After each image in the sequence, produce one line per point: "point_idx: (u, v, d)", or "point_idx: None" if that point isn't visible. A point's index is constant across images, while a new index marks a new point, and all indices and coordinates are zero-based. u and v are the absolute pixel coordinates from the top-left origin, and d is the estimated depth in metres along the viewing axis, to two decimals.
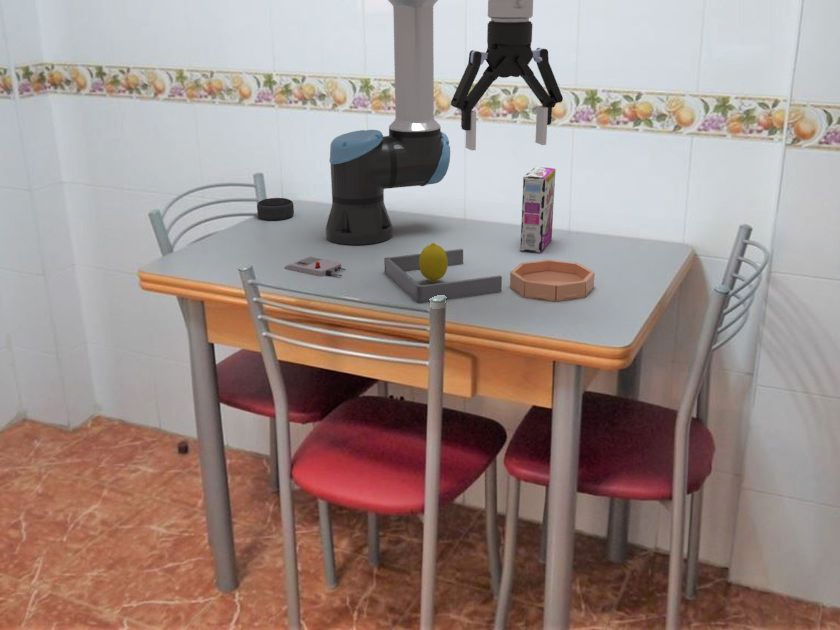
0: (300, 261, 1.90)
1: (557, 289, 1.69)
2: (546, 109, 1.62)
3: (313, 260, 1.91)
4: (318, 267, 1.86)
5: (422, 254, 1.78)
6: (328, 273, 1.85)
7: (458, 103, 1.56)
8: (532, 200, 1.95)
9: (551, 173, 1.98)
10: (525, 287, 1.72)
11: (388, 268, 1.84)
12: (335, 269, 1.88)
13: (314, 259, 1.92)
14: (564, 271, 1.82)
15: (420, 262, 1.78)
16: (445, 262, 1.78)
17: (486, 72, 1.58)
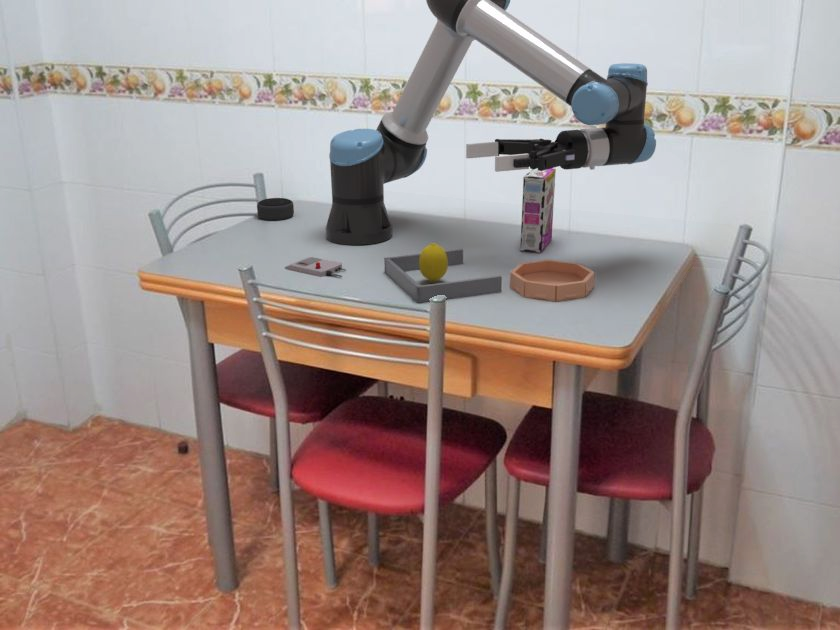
0: (301, 261, 1.90)
1: (557, 289, 1.69)
2: (495, 155, 1.84)
3: (314, 260, 1.91)
4: (318, 267, 1.86)
5: (422, 254, 1.78)
6: (328, 273, 1.85)
7: (542, 170, 1.70)
8: (532, 200, 1.95)
9: (551, 173, 1.98)
10: (525, 287, 1.72)
11: (388, 268, 1.84)
12: (335, 269, 1.87)
13: (314, 259, 1.92)
14: (564, 271, 1.82)
15: (420, 262, 1.78)
16: (445, 262, 1.78)
17: (550, 152, 1.76)
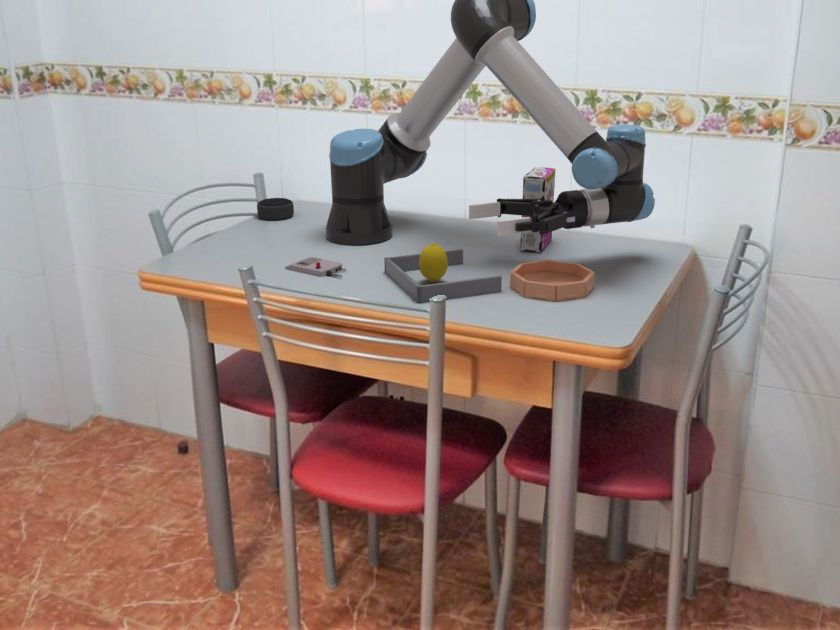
0: (301, 261, 1.90)
1: (557, 289, 1.69)
2: None
3: (314, 260, 1.91)
4: (318, 267, 1.86)
5: (422, 254, 1.78)
6: (328, 273, 1.85)
7: (544, 233, 1.74)
8: None
9: (551, 173, 1.98)
10: (525, 287, 1.72)
11: (388, 268, 1.84)
12: (336, 269, 1.87)
13: (315, 259, 1.92)
14: (564, 271, 1.82)
15: (420, 262, 1.78)
16: (445, 262, 1.78)
17: (551, 214, 1.80)
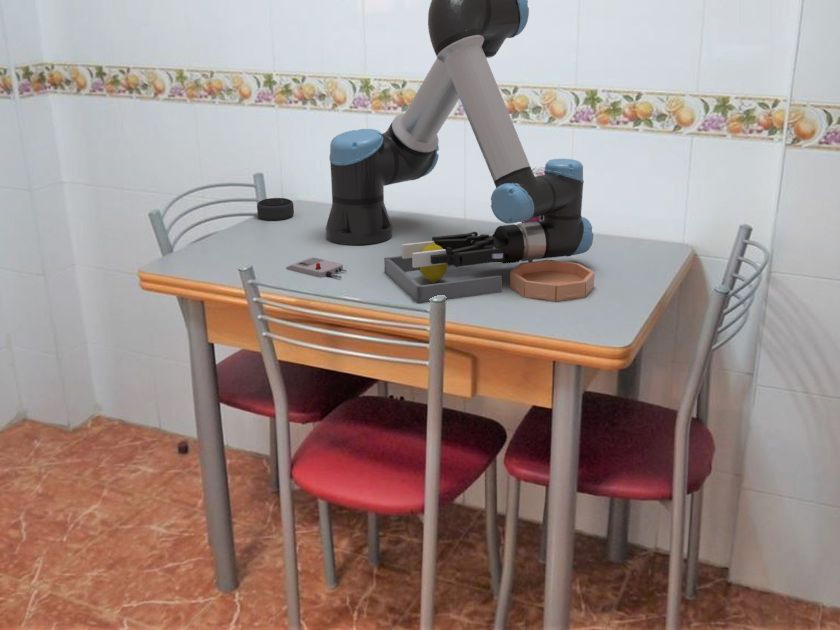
0: (302, 262, 1.90)
1: (557, 289, 1.69)
2: None
3: (315, 261, 1.90)
4: (318, 268, 1.85)
5: None
6: (328, 274, 1.84)
7: None
8: None
9: None
10: (525, 287, 1.72)
11: (388, 268, 1.84)
12: (336, 270, 1.87)
13: (316, 260, 1.91)
14: (564, 271, 1.82)
15: None
16: None
17: (480, 248, 1.79)
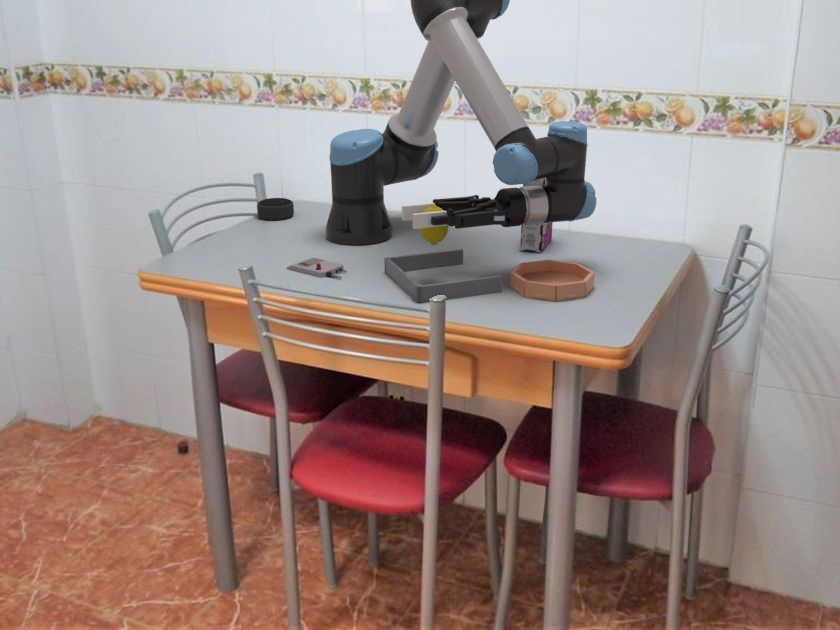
0: (302, 262, 1.90)
1: (557, 289, 1.69)
2: None
3: (316, 261, 1.90)
4: (319, 268, 1.85)
5: None
6: (328, 275, 1.84)
7: None
8: None
9: None
10: (525, 287, 1.72)
11: (388, 268, 1.84)
12: (336, 271, 1.87)
13: (317, 260, 1.91)
14: (564, 271, 1.82)
15: None
16: None
17: (481, 210, 1.76)
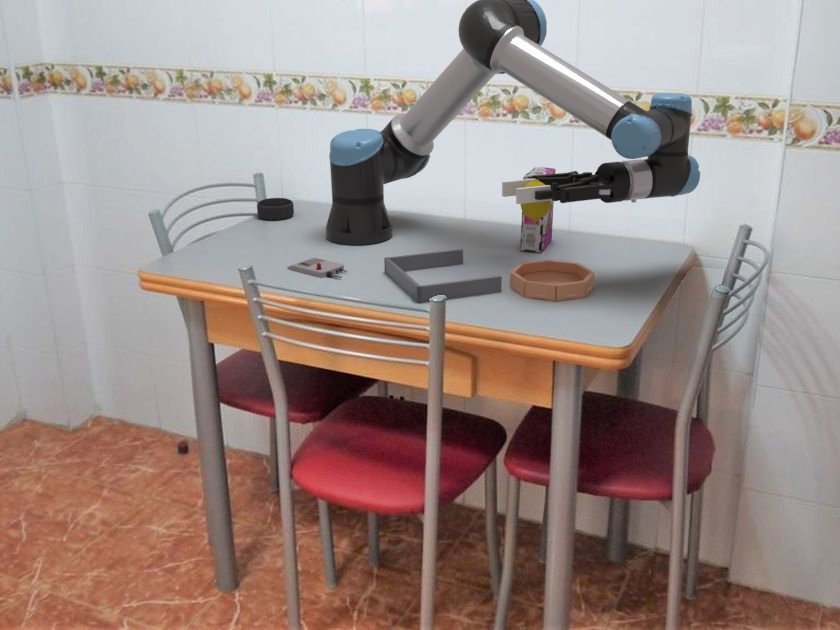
0: (303, 262, 1.90)
1: (557, 289, 1.69)
2: None
3: (317, 261, 1.90)
4: (319, 268, 1.85)
5: None
6: (328, 274, 1.84)
7: (564, 202, 1.66)
8: None
9: (551, 173, 1.98)
10: (525, 287, 1.72)
11: (388, 268, 1.84)
12: (336, 271, 1.87)
13: (317, 260, 1.91)
14: (564, 271, 1.82)
15: None
16: None
17: (585, 185, 1.70)
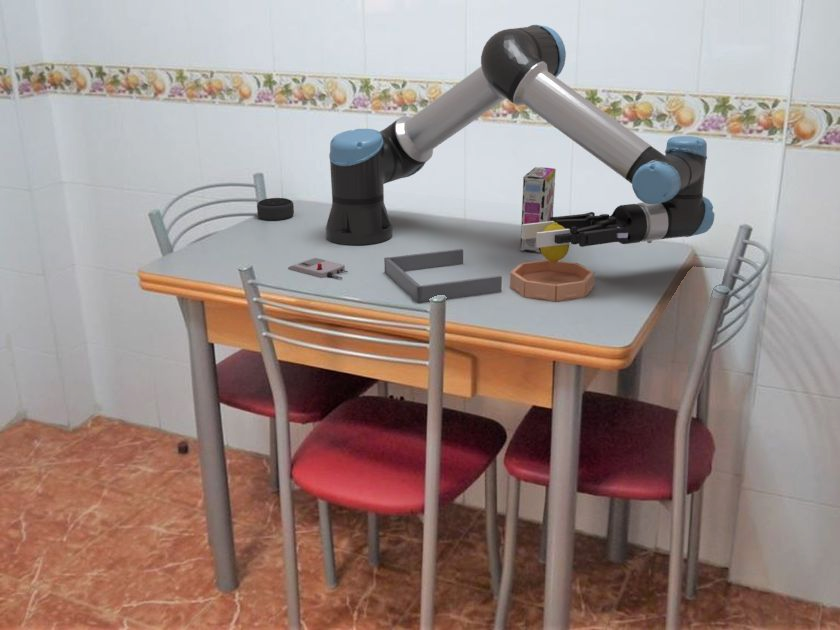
0: (304, 262, 1.90)
1: (557, 289, 1.69)
2: None
3: (317, 261, 1.90)
4: (320, 269, 1.85)
5: None
6: (329, 275, 1.84)
7: (583, 246, 1.70)
8: (532, 200, 1.95)
9: (551, 173, 1.98)
10: (525, 287, 1.72)
11: (388, 268, 1.84)
12: (337, 271, 1.86)
13: (318, 260, 1.91)
14: (564, 271, 1.82)
15: None
16: None
17: (603, 228, 1.74)
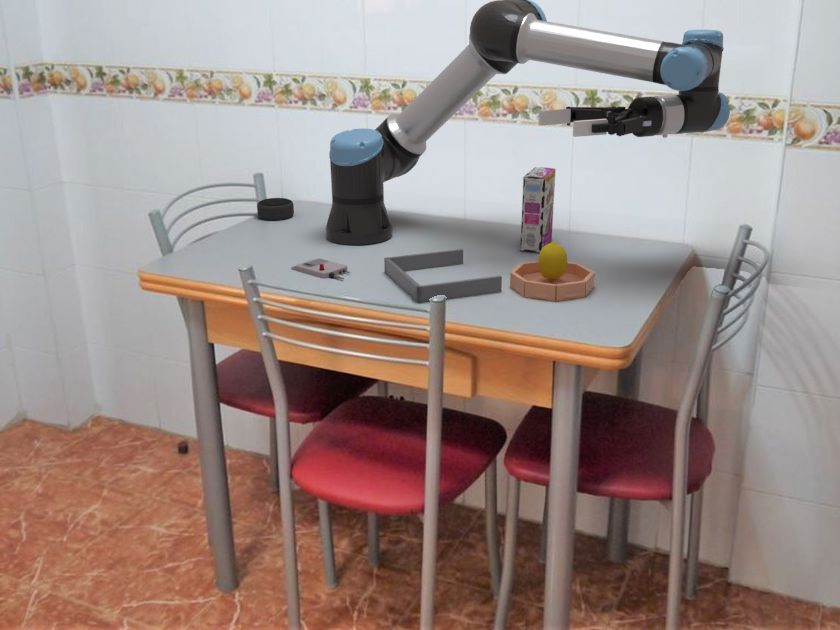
0: (307, 262, 1.90)
1: (557, 289, 1.69)
2: (567, 122, 1.82)
3: (321, 262, 1.90)
4: (322, 269, 1.85)
5: (542, 253, 1.74)
6: (331, 275, 1.84)
7: (621, 135, 1.68)
8: (532, 200, 1.95)
9: (551, 173, 1.98)
10: (525, 287, 1.72)
11: (388, 268, 1.84)
12: (339, 272, 1.86)
13: (321, 261, 1.91)
14: None
15: (540, 261, 1.75)
16: (565, 261, 1.74)
17: (626, 118, 1.73)
